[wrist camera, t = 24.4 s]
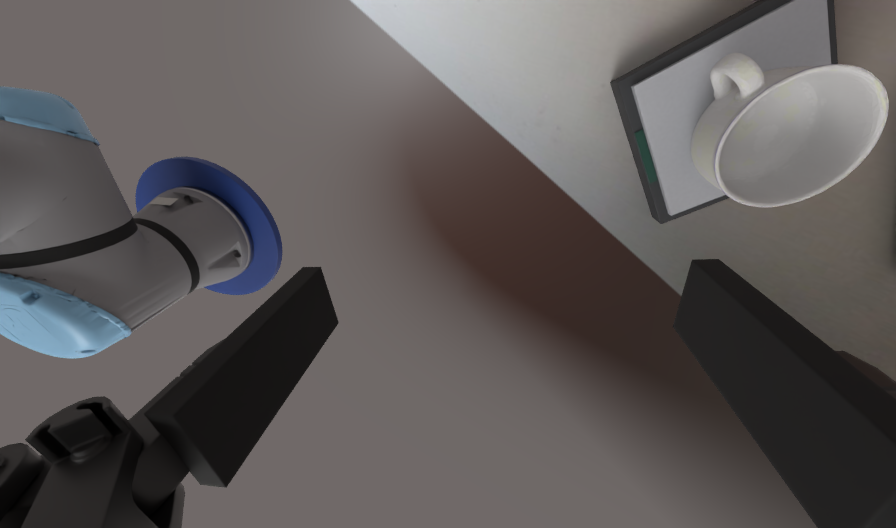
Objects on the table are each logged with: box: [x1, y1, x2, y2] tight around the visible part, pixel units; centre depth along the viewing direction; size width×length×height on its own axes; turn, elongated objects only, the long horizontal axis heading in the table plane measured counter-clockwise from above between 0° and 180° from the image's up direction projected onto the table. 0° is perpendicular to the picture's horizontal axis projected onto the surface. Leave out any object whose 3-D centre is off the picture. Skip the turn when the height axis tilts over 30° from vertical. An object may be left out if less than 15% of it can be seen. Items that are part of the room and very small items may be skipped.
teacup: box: [691, 53, 889, 207], centre depth 29 cm, size 14×11×8 cm
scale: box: [610, 0, 838, 224], centre depth 33 cm, size 17×17×3 cm
